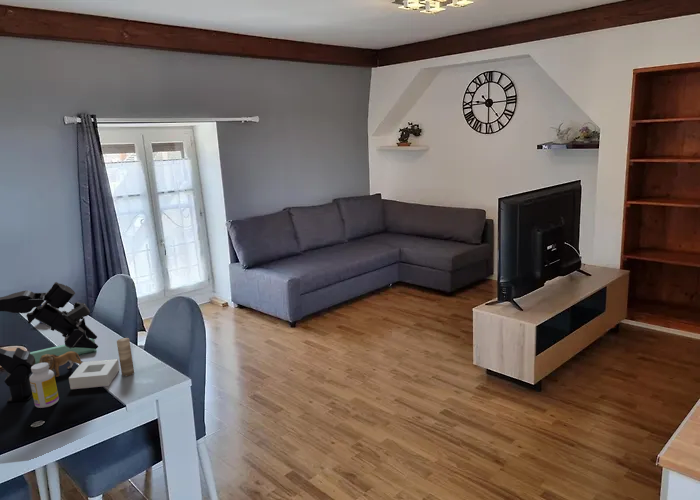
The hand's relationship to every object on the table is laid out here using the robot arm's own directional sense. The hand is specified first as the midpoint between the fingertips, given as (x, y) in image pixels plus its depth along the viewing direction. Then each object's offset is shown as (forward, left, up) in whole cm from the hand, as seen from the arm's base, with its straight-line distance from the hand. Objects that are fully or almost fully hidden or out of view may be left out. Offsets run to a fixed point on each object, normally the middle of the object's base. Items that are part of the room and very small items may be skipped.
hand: (96, 342), depth 172 cm
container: (+22, +23, -14) cm, 34 cm away
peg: (+3, -7, -13) cm, 16 cm away
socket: (+1, +3, -13) cm, 14 cm away
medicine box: (+65, +44, -14) cm, 79 cm away
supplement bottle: (-13, +12, -14) cm, 23 cm away
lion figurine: (+8, +16, -14) cm, 23 cm away
